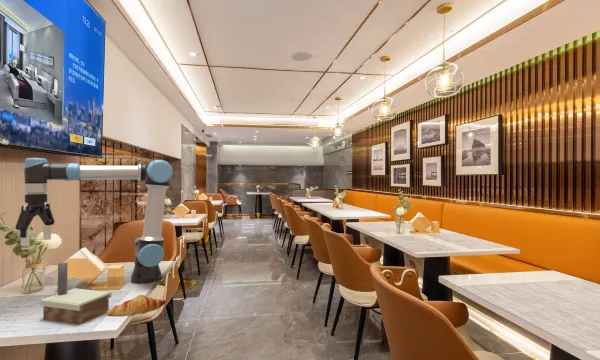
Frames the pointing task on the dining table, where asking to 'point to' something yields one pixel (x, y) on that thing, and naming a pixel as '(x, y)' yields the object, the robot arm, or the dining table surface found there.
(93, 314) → the brown wooden box
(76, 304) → the lid
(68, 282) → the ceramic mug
